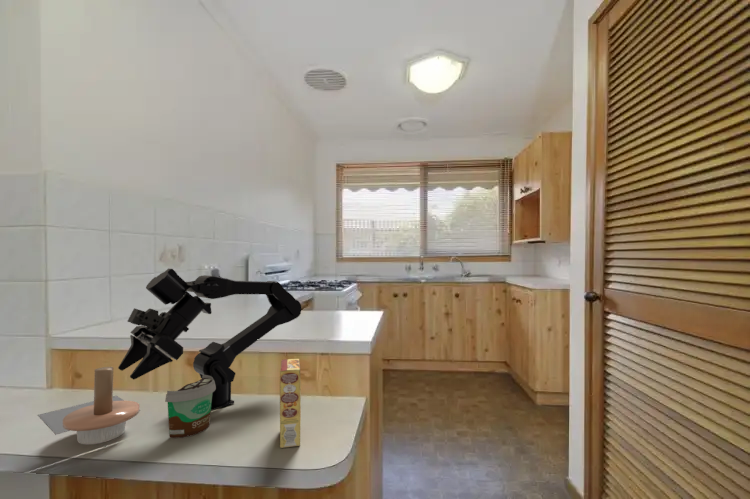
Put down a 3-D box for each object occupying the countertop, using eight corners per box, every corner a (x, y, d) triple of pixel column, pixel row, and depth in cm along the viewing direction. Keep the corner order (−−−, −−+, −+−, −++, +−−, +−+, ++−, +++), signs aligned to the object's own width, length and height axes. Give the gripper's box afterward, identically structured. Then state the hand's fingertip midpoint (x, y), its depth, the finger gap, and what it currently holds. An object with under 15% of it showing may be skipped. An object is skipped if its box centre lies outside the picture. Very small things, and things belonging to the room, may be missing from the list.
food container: (190, 444, 75) (191, 394, 75) (164, 441, 76) (165, 391, 77) (226, 418, 87) (227, 375, 88) (203, 416, 88) (204, 374, 89)
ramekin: (117, 424, 84) (117, 405, 84) (134, 435, 79) (135, 414, 79) (68, 439, 77) (68, 418, 77) (83, 453, 72) (84, 430, 72)
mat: (116, 397, 101) (116, 395, 101) (140, 411, 91) (140, 410, 91) (37, 416, 88) (37, 414, 88) (55, 436, 78) (55, 434, 78)
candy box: (300, 446, 74) (301, 369, 75) (278, 449, 73) (279, 370, 74) (299, 427, 83) (300, 357, 83) (280, 429, 82) (280, 359, 82)
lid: (98, 404, 85) (99, 360, 85) (153, 405, 84) (154, 361, 85) (44, 429, 72) (46, 377, 73) (107, 432, 71) (109, 379, 72)
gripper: (141, 292, 92) (84, 345, 83) (168, 297, 79) (104, 360, 71) (175, 320, 97) (125, 372, 89) (205, 329, 85) (150, 391, 76)
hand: (125, 373), depth 81 cm, fingers open, 9 cm apart
